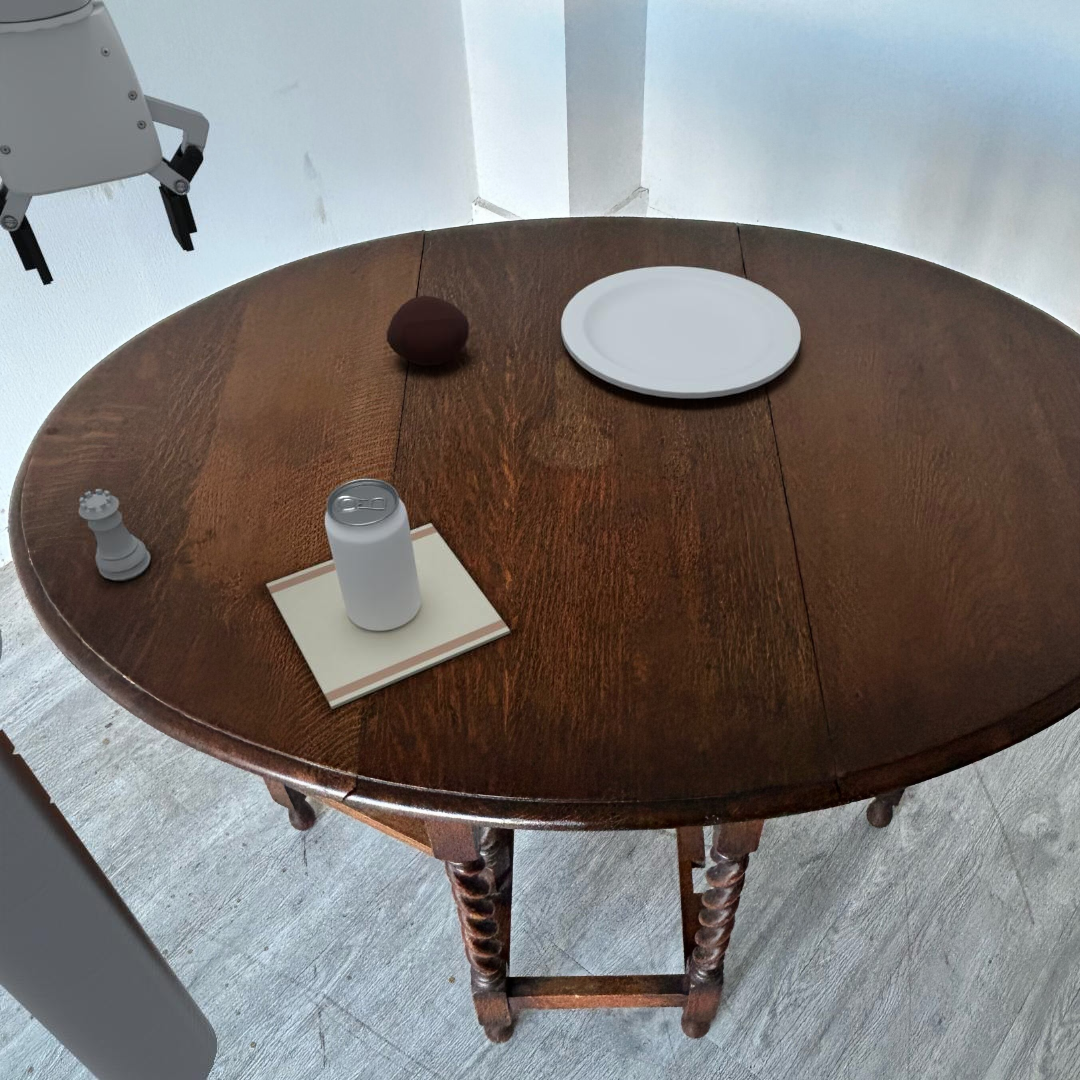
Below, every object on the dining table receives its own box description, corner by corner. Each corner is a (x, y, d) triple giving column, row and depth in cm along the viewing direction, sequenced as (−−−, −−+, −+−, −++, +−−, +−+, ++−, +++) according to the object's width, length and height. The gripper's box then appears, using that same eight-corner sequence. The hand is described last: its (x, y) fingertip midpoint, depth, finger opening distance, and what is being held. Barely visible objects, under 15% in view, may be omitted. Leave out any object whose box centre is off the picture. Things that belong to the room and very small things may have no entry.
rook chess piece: (160, 569, 89) (130, 501, 83) (110, 590, 87) (77, 522, 81) (141, 542, 91) (111, 475, 86) (92, 563, 89) (59, 495, 84)
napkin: (332, 709, 78) (330, 706, 78) (266, 586, 88) (265, 583, 87) (510, 633, 84) (510, 629, 84) (431, 525, 94) (430, 522, 93)
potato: (477, 374, 112) (472, 313, 106) (395, 385, 110) (385, 323, 104) (466, 337, 117) (460, 276, 111) (387, 347, 115) (377, 286, 110)
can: (352, 580, 88) (327, 475, 79) (425, 579, 88) (408, 474, 79) (341, 635, 83) (313, 529, 75) (418, 633, 84) (399, 528, 75)
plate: (767, 278, 128) (769, 261, 126) (826, 403, 109) (829, 385, 107) (551, 288, 125) (551, 270, 124) (573, 417, 106) (573, 399, 104)
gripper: (151, -47, 64) (221, 212, 76) (-153, -10, 57) (-23, 266, 70) (183, -17, 59) (252, 252, 72) (-143, 26, 53) (-6, 314, 65)
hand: (116, 259), depth 71 cm, fingers open, 9 cm apart
